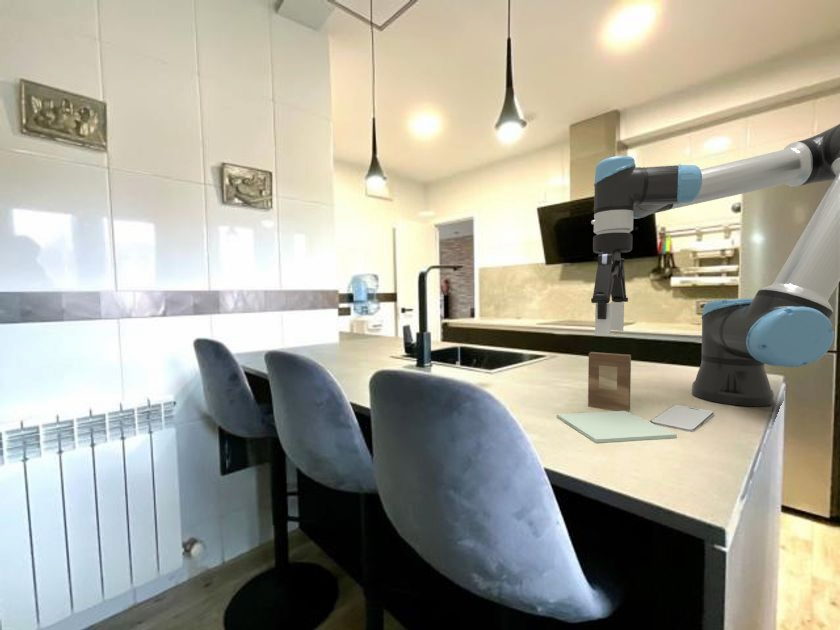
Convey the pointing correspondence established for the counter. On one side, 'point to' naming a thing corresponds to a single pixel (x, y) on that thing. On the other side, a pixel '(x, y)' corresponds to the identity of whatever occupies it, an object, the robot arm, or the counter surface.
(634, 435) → the mat
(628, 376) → the board
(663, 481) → the counter surface
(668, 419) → the smartphone
